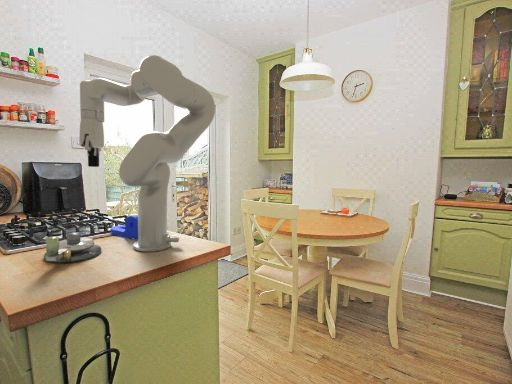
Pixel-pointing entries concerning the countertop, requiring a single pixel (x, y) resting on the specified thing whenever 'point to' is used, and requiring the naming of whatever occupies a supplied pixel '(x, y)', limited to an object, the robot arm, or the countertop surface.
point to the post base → (77, 255)
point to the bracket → (127, 228)
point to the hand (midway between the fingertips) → (93, 166)
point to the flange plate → (66, 245)
